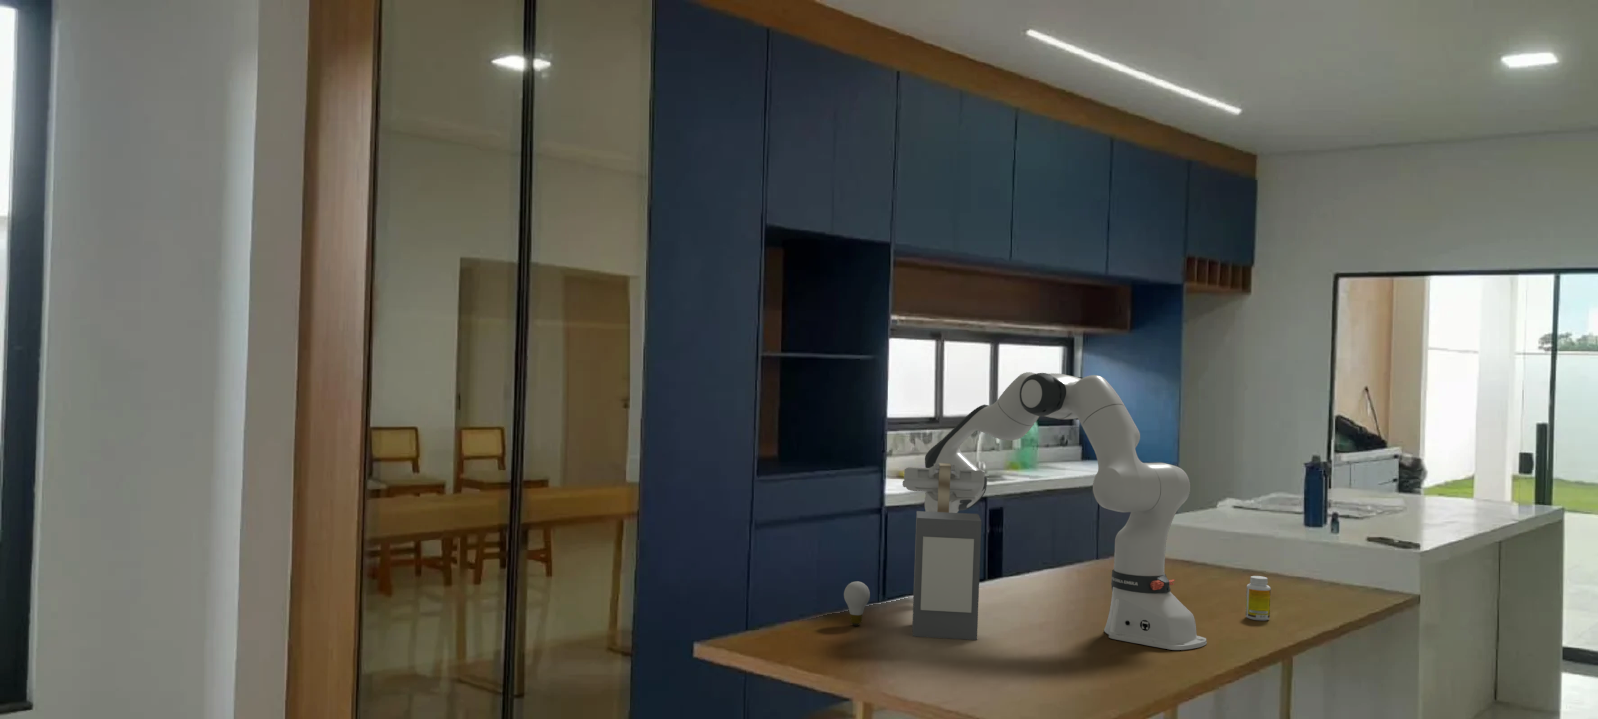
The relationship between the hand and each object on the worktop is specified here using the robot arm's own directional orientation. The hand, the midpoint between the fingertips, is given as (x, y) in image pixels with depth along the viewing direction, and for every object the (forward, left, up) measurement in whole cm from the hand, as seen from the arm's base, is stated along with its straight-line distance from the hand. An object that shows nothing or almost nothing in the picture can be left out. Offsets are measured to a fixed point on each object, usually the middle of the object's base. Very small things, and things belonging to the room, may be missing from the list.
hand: (945, 466), depth 298 cm
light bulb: (-6, +34, -35) cm, 49 cm away
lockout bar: (+4, -4, -10) cm, 11 cm away
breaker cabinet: (-21, +21, -34) cm, 45 cm away
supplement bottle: (-52, -58, -35) cm, 85 cm away
